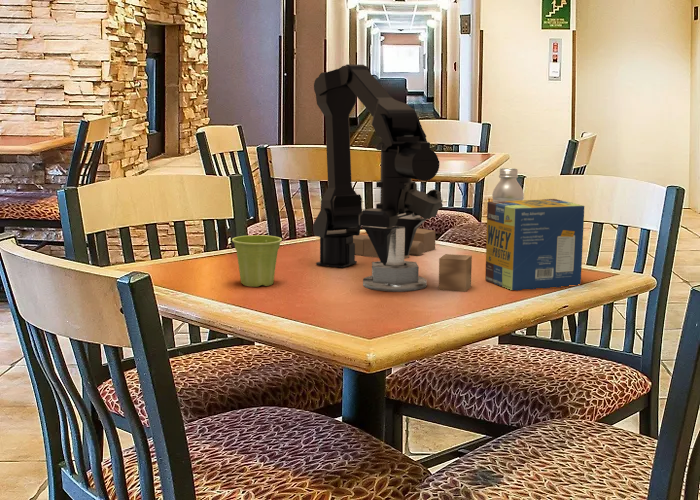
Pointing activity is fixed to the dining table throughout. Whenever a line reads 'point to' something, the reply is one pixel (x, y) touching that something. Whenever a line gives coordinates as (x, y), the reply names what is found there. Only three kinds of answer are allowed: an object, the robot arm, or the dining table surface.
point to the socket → (395, 277)
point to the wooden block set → (420, 245)
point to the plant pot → (257, 258)
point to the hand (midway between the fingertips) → (395, 259)
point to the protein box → (534, 243)
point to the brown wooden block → (455, 272)
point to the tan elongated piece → (397, 247)
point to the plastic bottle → (508, 186)
